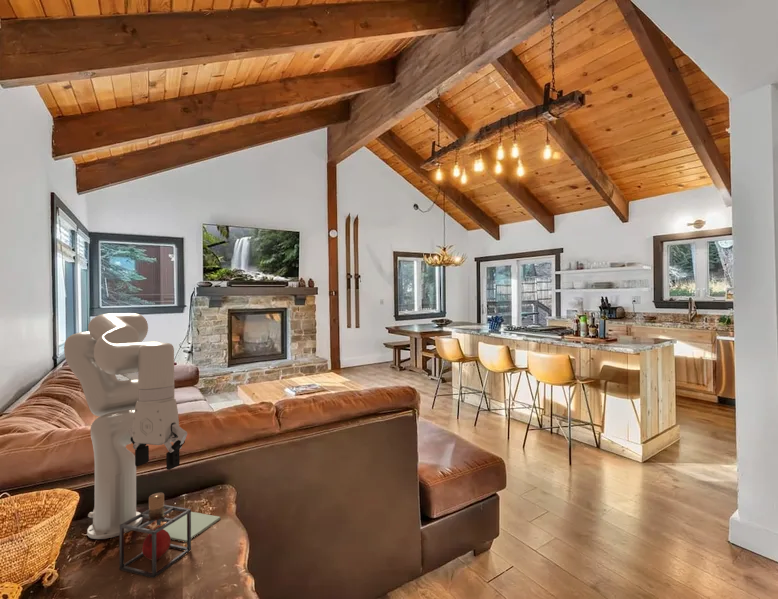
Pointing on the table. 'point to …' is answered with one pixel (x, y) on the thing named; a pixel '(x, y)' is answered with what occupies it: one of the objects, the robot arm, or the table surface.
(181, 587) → the table surface
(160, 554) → the onion
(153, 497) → the dark grey metal frame
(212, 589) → the table surface
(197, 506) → the table surface
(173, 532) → the mat
